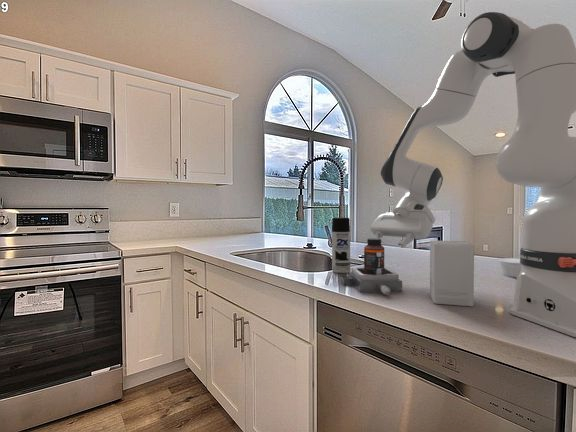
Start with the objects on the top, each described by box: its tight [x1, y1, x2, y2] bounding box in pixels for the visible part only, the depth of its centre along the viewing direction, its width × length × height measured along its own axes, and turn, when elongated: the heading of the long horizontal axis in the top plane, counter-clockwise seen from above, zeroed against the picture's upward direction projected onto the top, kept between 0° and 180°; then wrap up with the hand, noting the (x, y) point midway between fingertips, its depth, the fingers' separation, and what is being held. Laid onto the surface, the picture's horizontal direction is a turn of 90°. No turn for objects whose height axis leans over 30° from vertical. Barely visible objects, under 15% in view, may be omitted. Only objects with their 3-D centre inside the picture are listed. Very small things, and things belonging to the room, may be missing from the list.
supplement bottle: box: [363, 237, 385, 274], centre depth 97 cm, size 6×6×11 cm
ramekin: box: [498, 257, 522, 279], centre depth 109 cm, size 11×11×5 cm
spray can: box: [331, 217, 352, 274], centre depth 118 cm, size 7×7×20 cm
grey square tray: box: [340, 266, 403, 296], centre depth 95 cm, size 19×15×4 cm
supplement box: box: [429, 239, 475, 308], centre depth 82 cm, size 9×9×15 cm
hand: (388, 244), depth 100 cm, fingers open, 8 cm apart
